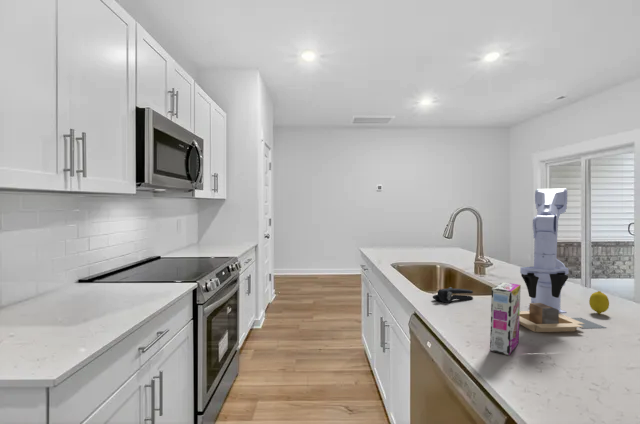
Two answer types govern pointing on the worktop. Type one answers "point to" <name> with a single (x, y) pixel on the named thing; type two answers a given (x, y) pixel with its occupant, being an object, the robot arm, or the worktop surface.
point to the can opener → (446, 294)
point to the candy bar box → (505, 318)
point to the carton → (563, 325)
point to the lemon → (599, 302)
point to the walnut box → (543, 314)
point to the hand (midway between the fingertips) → (543, 297)
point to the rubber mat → (588, 324)
